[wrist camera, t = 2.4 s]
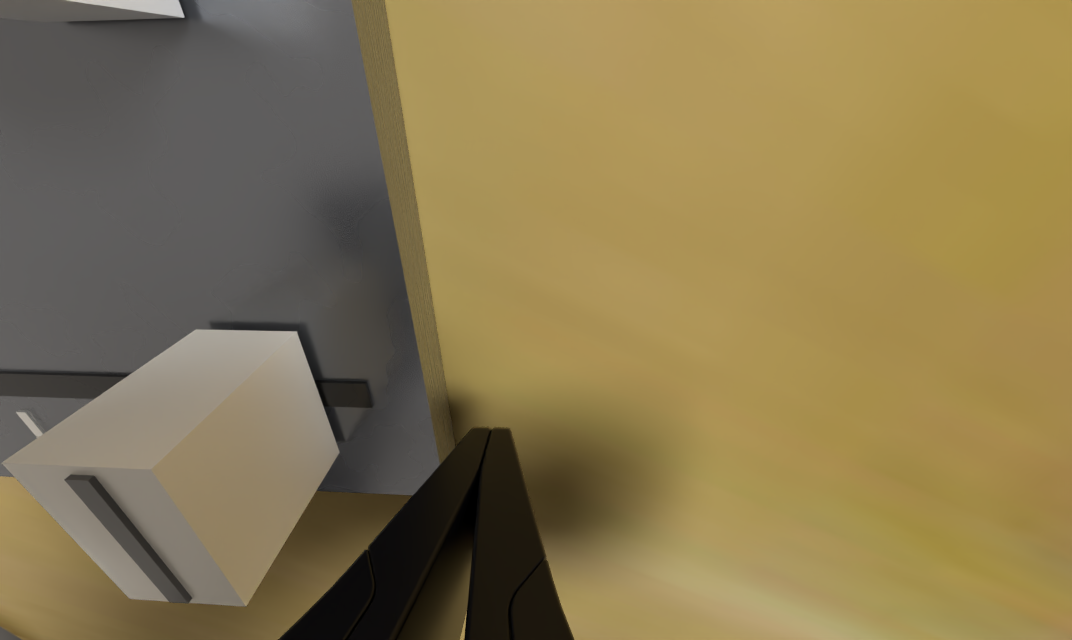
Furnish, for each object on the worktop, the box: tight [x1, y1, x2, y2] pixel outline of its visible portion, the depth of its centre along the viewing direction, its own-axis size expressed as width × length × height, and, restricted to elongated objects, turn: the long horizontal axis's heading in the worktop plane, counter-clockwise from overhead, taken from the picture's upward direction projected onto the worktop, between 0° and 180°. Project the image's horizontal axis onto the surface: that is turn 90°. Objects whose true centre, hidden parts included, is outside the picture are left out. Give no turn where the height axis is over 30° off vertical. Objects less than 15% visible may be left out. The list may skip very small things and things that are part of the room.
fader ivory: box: [2, 329, 339, 607], centre depth 9 cm, size 4×2×4 cm, turn 1°
